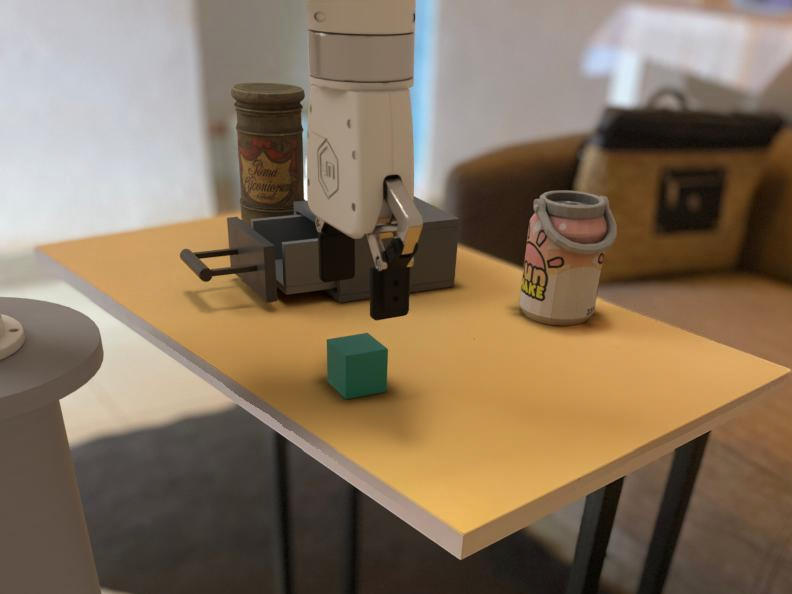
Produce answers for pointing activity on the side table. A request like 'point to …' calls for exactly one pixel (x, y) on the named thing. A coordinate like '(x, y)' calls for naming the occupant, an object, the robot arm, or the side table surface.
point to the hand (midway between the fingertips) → (362, 297)
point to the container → (269, 148)
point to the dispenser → (430, 259)
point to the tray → (268, 256)
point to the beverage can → (565, 256)
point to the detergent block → (357, 365)
